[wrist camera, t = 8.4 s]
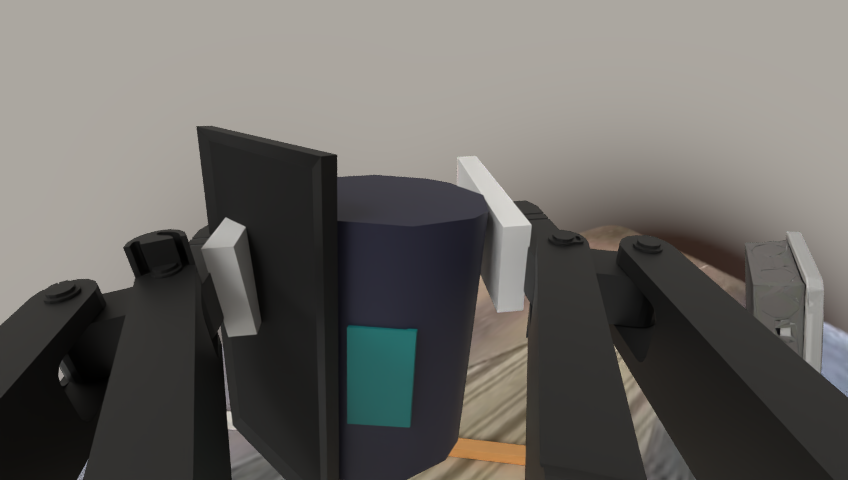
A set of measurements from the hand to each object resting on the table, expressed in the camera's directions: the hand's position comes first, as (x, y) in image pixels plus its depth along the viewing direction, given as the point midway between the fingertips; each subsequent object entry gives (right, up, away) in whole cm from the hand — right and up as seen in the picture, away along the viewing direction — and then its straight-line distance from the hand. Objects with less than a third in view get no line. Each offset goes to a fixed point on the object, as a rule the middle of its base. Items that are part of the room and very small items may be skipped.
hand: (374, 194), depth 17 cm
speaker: (0, -8, -1) cm, 8 cm away
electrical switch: (+31, -11, +19) cm, 38 cm away
